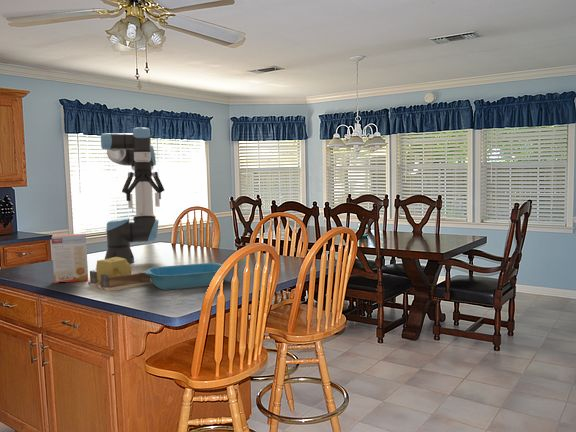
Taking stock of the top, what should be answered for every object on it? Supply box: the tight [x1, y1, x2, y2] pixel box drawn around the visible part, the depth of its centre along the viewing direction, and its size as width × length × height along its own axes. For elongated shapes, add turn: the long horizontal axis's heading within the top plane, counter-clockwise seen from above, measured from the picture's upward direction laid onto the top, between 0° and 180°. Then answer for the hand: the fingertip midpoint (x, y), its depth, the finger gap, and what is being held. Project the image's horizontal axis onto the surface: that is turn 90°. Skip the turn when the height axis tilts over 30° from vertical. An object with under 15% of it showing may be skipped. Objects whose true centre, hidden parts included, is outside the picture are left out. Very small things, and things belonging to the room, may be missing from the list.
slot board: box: [87, 269, 154, 292], centre depth 227 cm, size 20×28×6 cm
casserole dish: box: [144, 262, 228, 291], centre depth 222 cm, size 37×22×7 cm, turn 115°
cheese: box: [95, 257, 132, 283], centre depth 222 cm, size 10×11×10 cm
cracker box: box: [51, 233, 89, 284], centre depth 230 cm, size 14×6×21 cm, turn 110°
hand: (144, 207), depth 241 cm, fingers open, 13 cm apart
